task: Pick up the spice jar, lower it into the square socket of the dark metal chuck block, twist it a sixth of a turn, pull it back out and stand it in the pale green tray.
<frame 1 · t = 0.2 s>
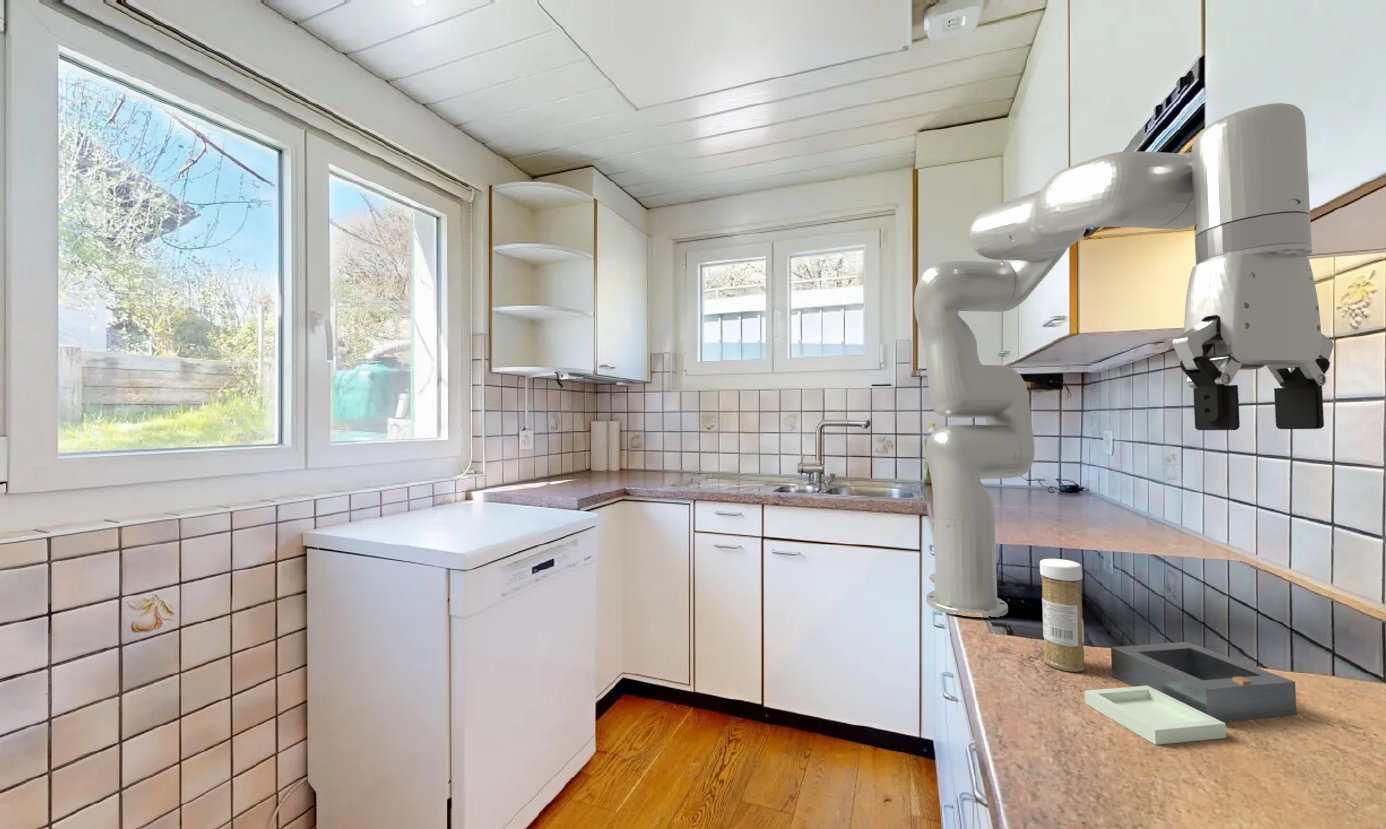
hand: (1258, 429, 50), 31 cm above the counter, tool pointing down, fingers open, 9 cm apart
spice jar: (1063, 667, 69), on the counter
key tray: (1151, 719, 56), on the counter
chuck block: (1197, 693, 62), on the counter
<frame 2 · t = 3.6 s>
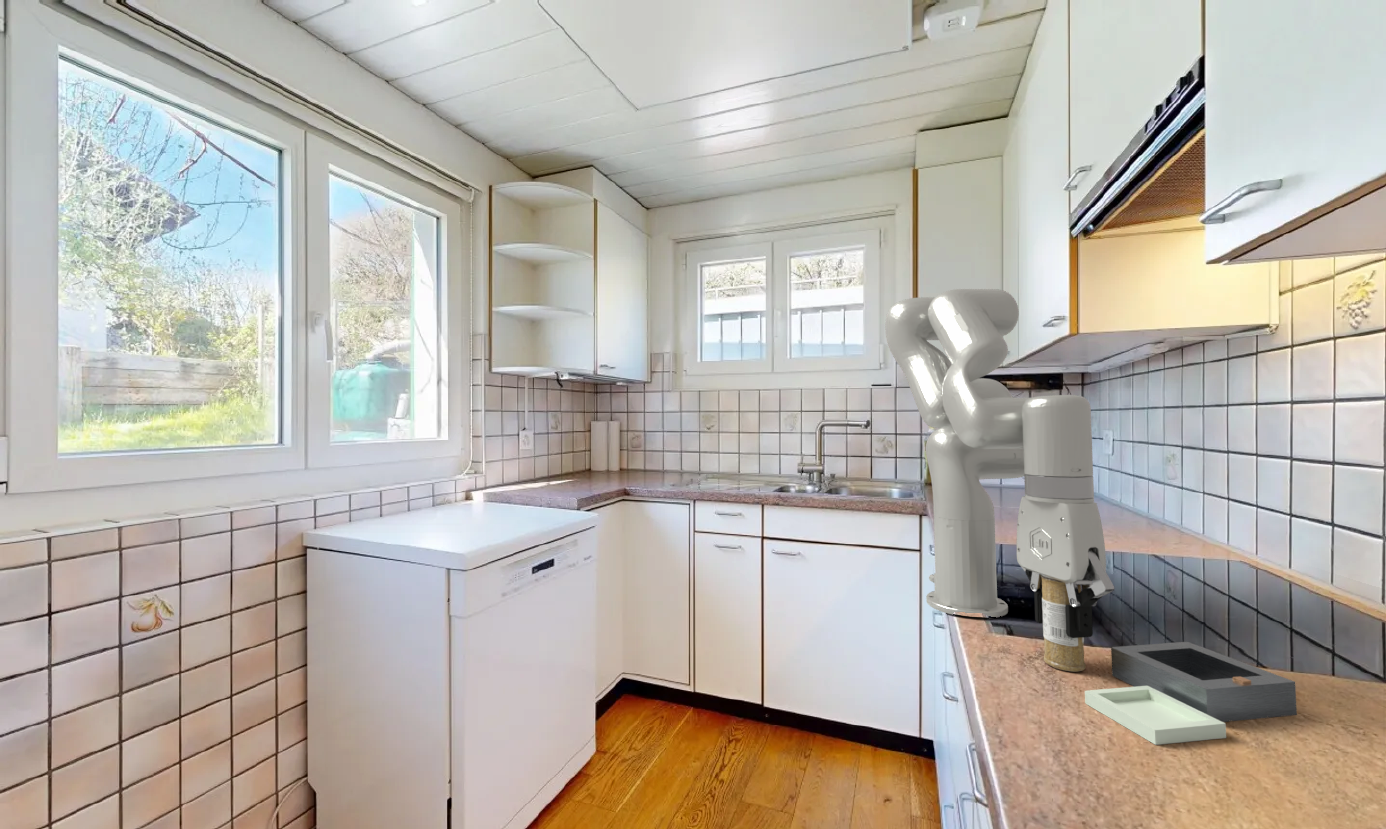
hand: (1062, 627, 70), 5 cm above the counter, tool pointing down, fingers closed on spice jar, 4 cm apart
spice jar: (1063, 666, 69), on the counter, touching gripper
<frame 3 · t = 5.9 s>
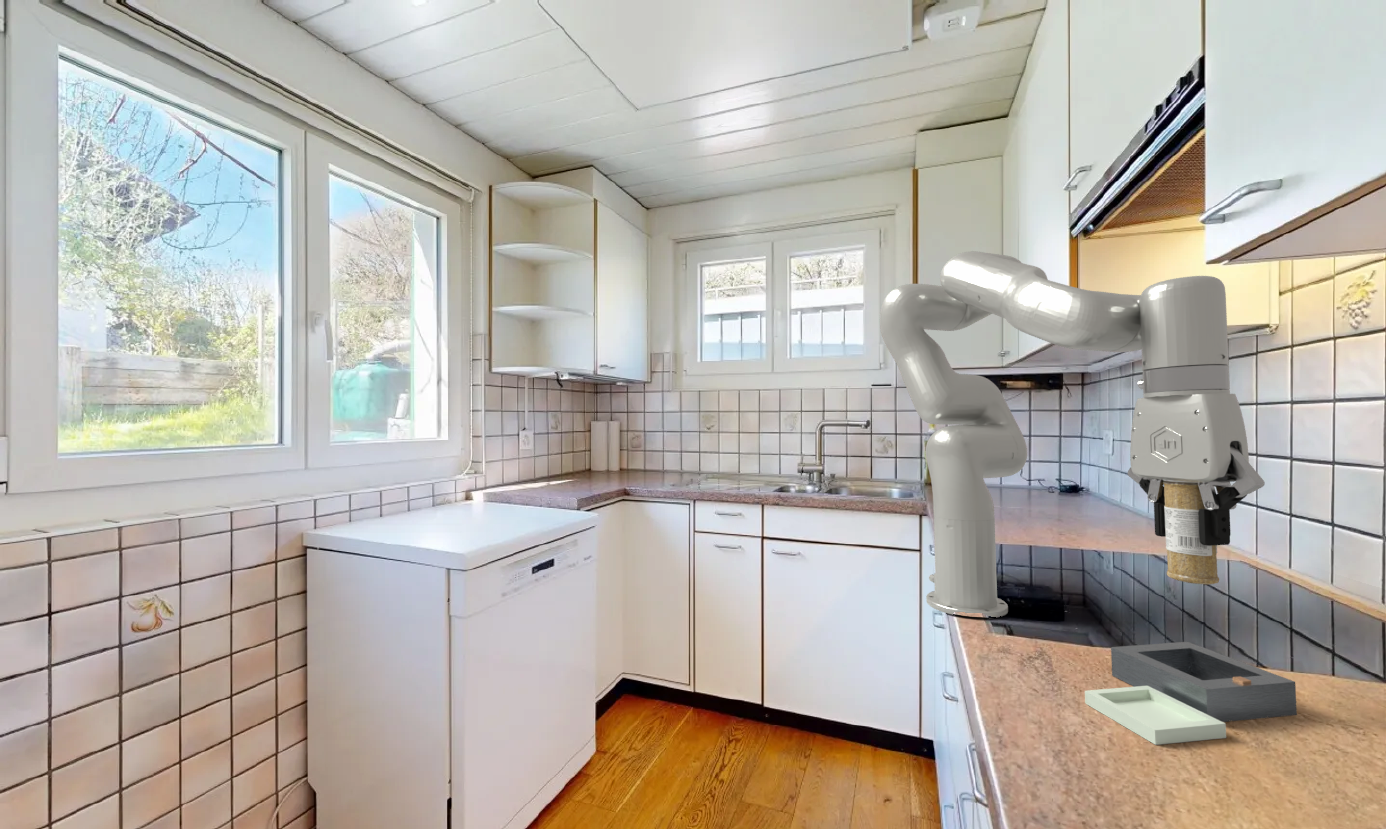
hand: (1191, 538, 62), 18 cm above the counter, tool pointing down, fingers closed on spice jar, 4 cm apart
spice jar: (1191, 581, 62), point 13 cm above the counter, touching gripper
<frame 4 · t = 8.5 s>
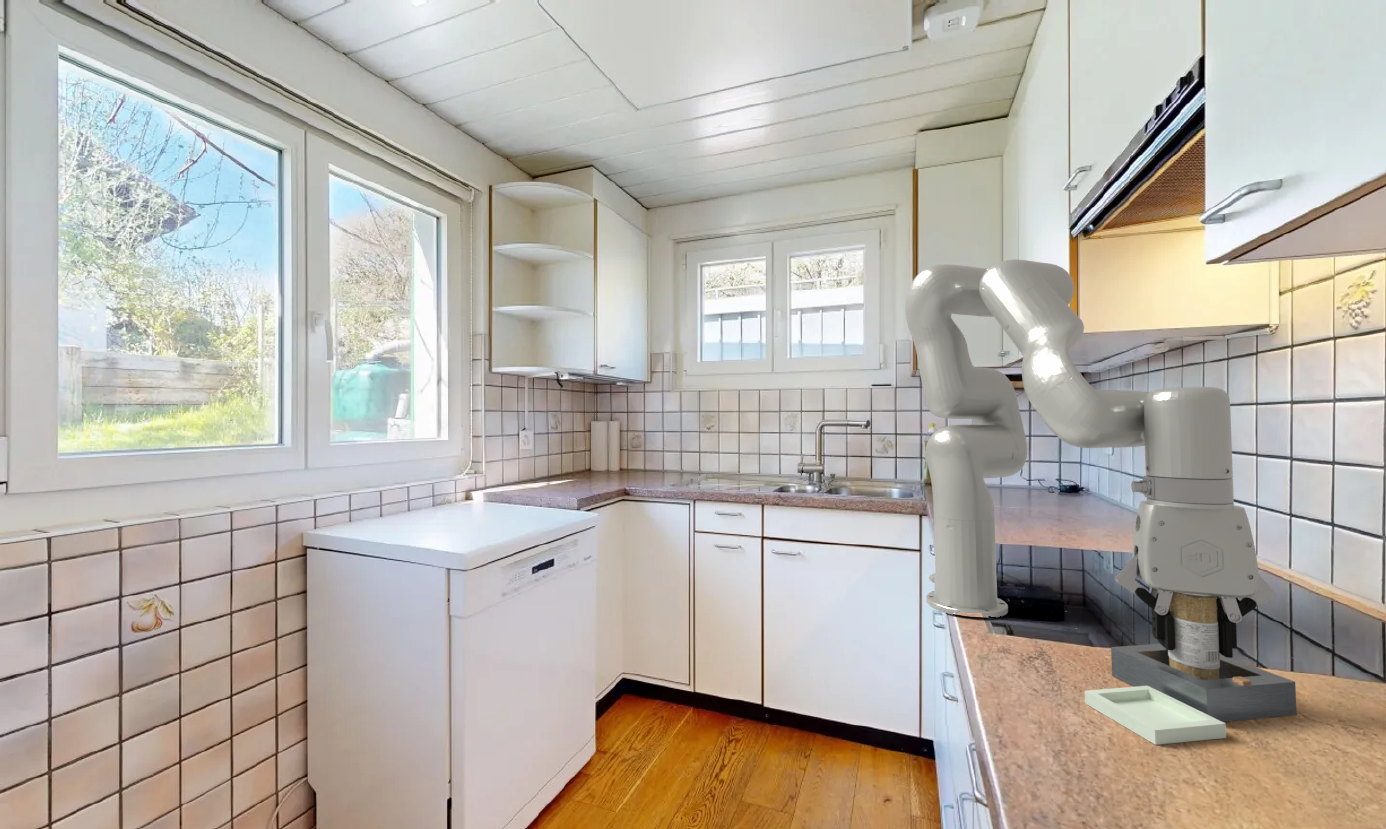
hand: (1193, 647, 62), 5 cm above the counter, tool pointing down, fingers closed on spice jar, 4 cm apart
spice jar: (1194, 691, 62), resting in chuck block, touching gripper
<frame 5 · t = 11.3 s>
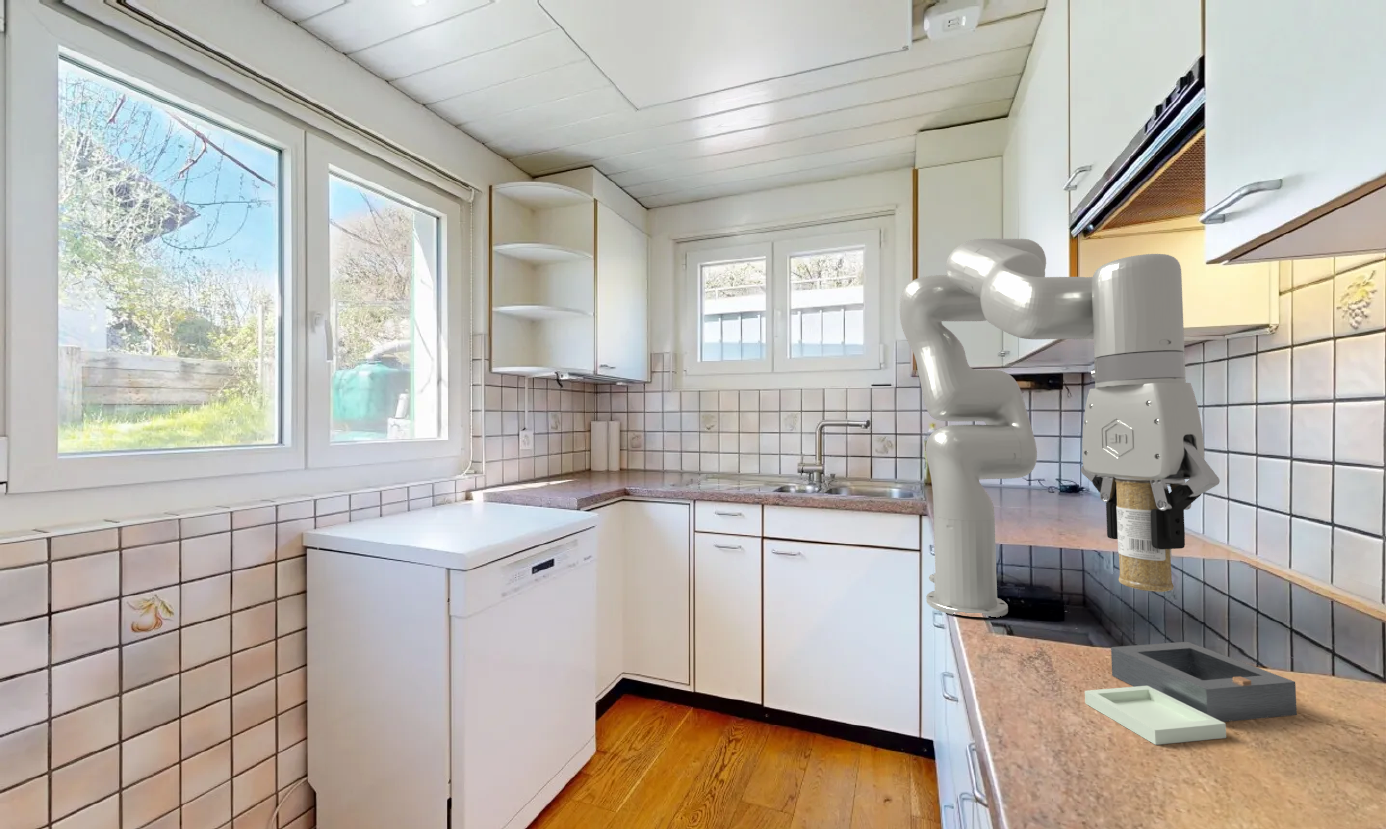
hand: (1144, 541, 57), 19 cm above the counter, tool pointing down, fingers closed on spice jar, 4 cm apart
spice jar: (1144, 588, 57), point 14 cm above the counter, touching gripper
when the fingers open (7 cm above the counter, at t = 13.7 s): spice jar drops 1 cm, resting on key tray.
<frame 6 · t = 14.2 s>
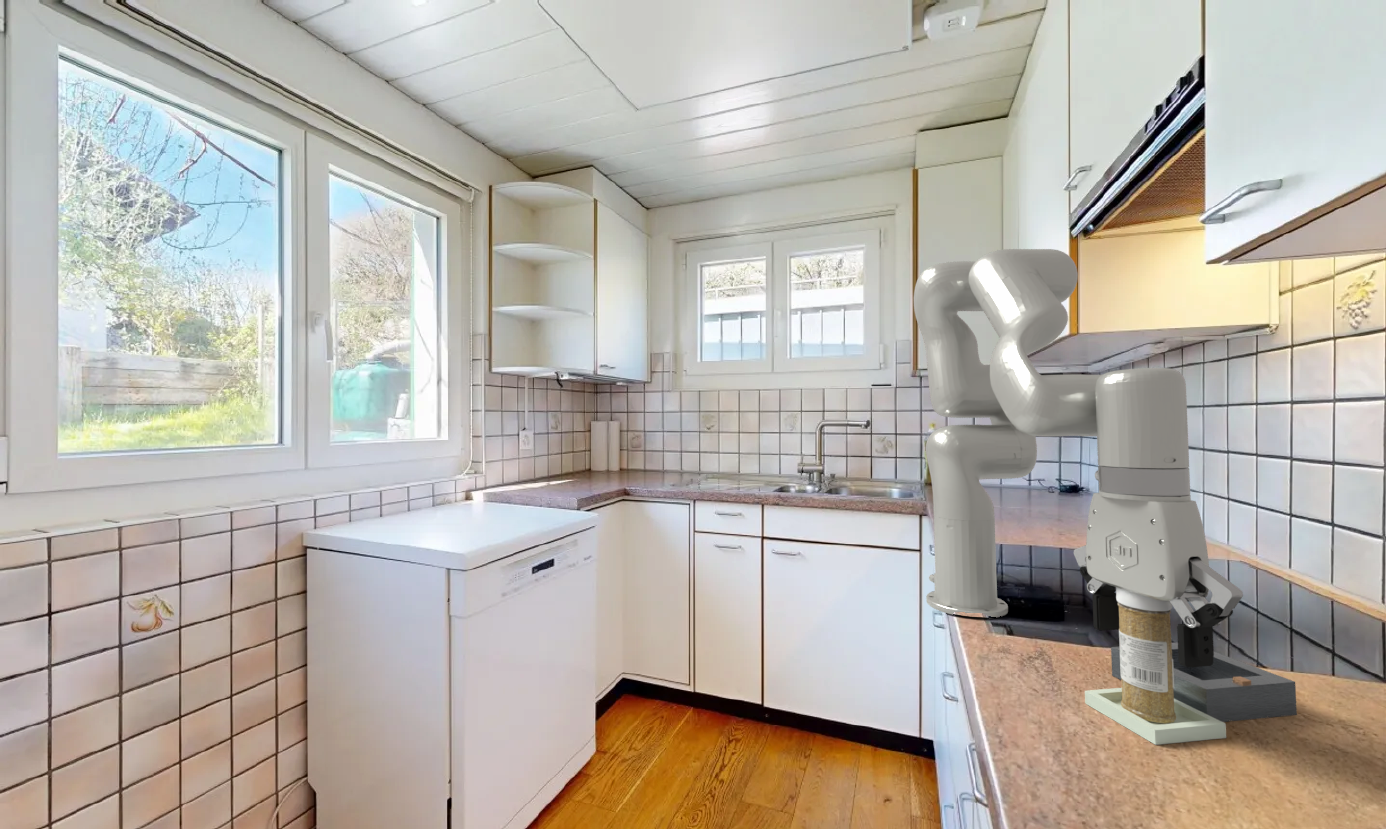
hand: (1148, 645, 57), 8 cm above the counter, tool pointing down, fingers open, 9 cm apart
spice jar: (1147, 715, 57), resting on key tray
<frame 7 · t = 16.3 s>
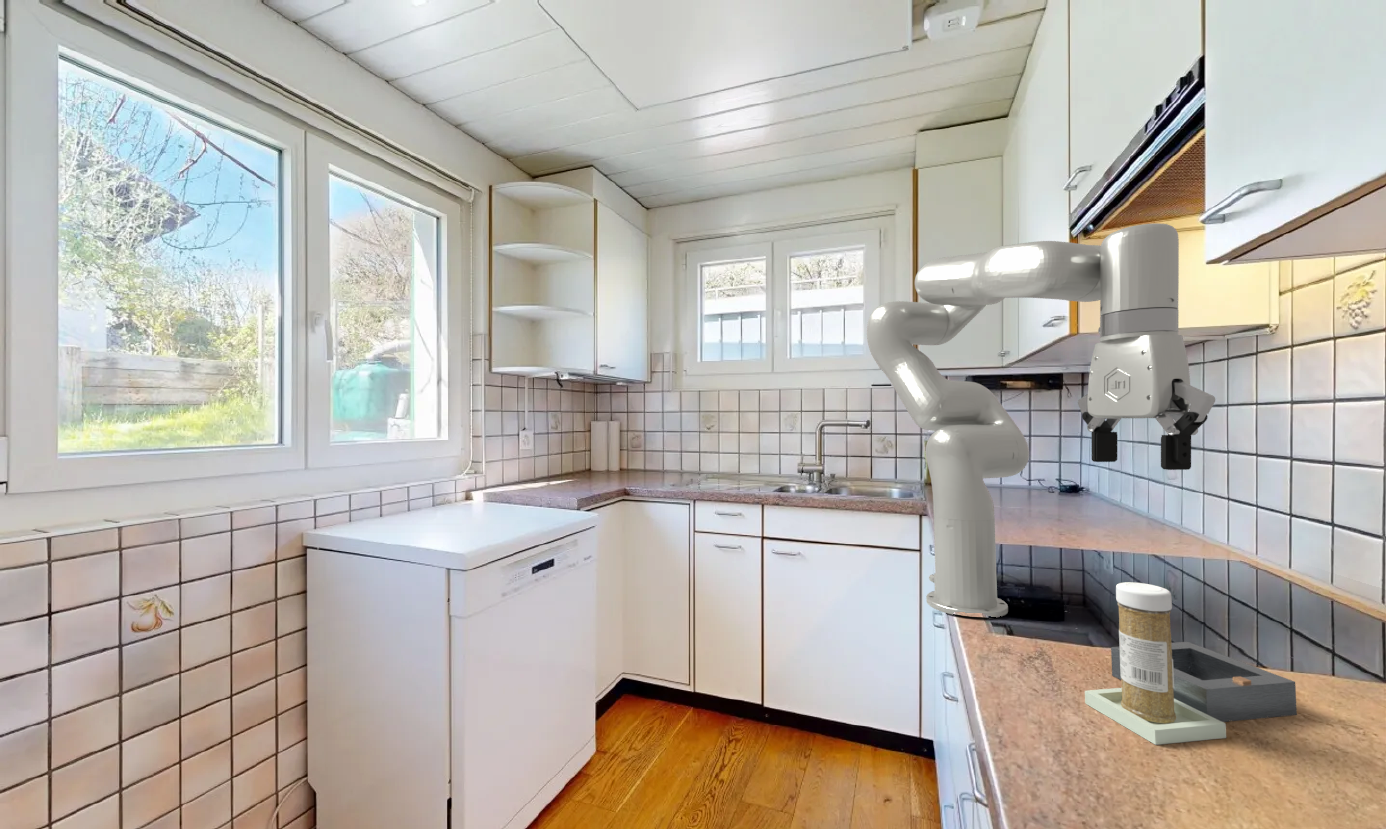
hand: (1137, 465, 67), 26 cm above the counter, tool pointing down, fingers open, 9 cm apart
nothing on the counter moved.
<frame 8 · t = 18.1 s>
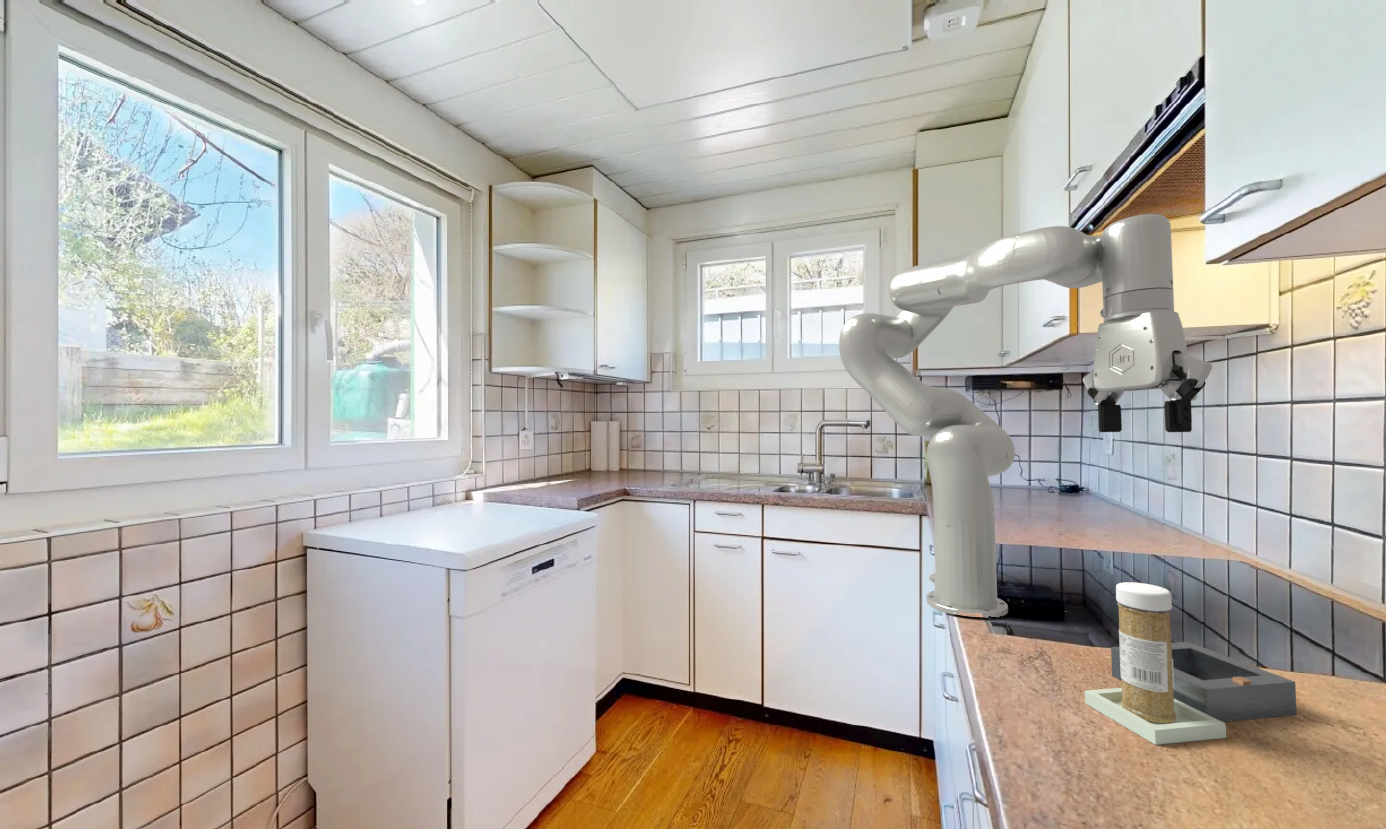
hand: (1142, 432, 73), 30 cm above the counter, tool pointing down, fingers open, 9 cm apart
nothing on the counter moved.
at the end: spice jar 0.4 cm off-centre on the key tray, point 0.2 cm above the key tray's base; spice jar tilted 0°; the gripper is holding nothing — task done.
